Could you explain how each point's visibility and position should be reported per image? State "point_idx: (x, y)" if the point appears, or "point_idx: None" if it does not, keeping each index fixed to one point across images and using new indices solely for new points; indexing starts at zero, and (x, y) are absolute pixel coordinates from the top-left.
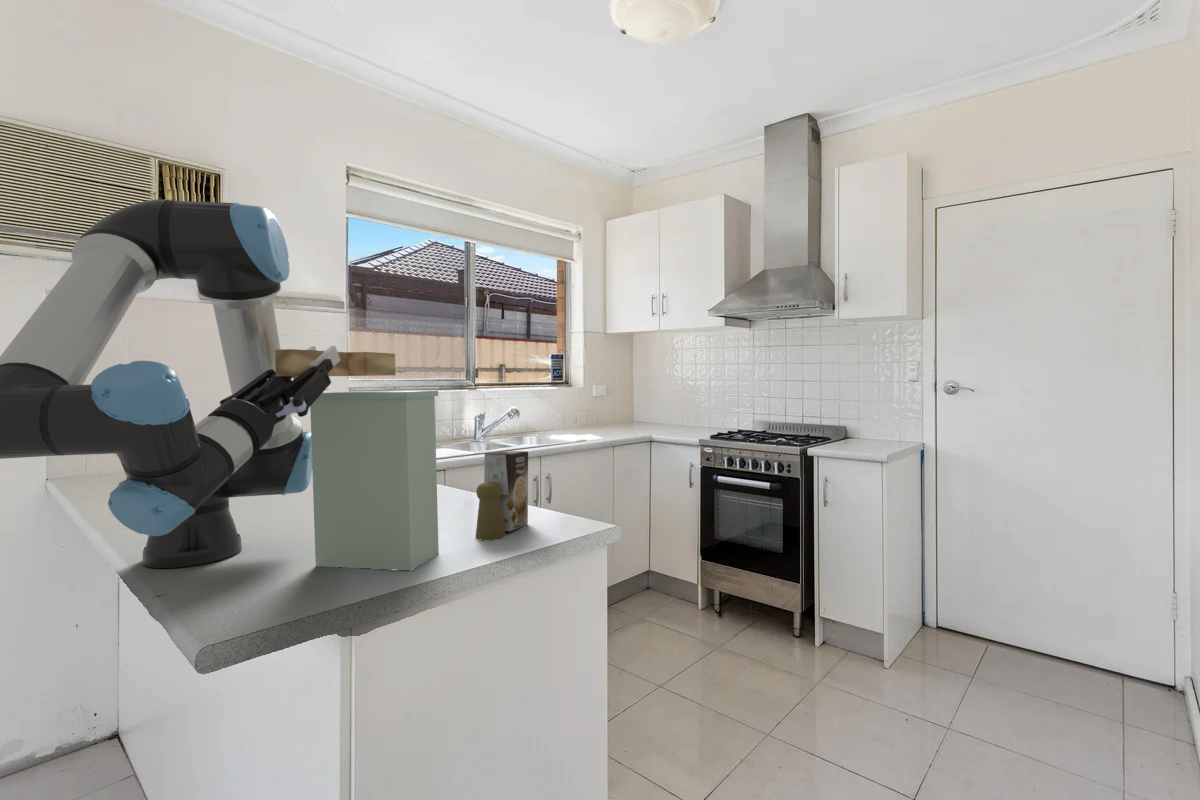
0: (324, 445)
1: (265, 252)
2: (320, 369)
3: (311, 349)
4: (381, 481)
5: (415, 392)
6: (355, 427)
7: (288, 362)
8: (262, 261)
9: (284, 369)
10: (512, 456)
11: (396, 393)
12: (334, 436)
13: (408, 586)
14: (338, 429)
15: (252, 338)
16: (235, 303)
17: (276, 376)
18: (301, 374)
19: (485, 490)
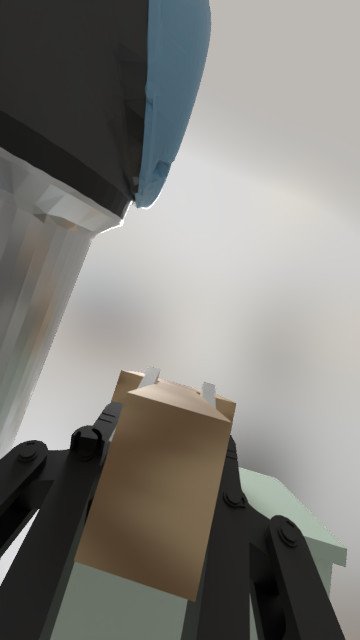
0: (70, 632)
1: (195, 62)
2: (289, 536)
3: (156, 377)
4: None
5: (322, 525)
6: (176, 602)
7: (185, 493)
8: (172, 83)
9: (145, 531)
10: None
11: (318, 544)
12: (108, 610)
13: None
14: (126, 592)
15: (8, 300)
16: (12, 172)
17: (65, 532)
18: (208, 557)
19: None
